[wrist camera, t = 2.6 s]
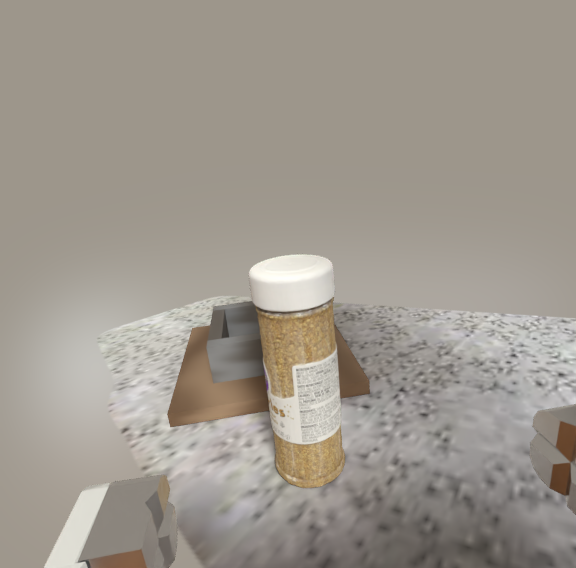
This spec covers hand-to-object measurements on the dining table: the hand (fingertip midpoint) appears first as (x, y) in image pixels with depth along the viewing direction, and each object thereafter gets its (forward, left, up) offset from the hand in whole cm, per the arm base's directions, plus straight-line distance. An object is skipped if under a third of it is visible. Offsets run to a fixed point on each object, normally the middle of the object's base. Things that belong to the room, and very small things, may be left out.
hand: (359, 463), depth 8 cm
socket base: (+2, -27, -12) cm, 29 cm away
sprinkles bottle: (0, -13, -12) cm, 18 cm away
